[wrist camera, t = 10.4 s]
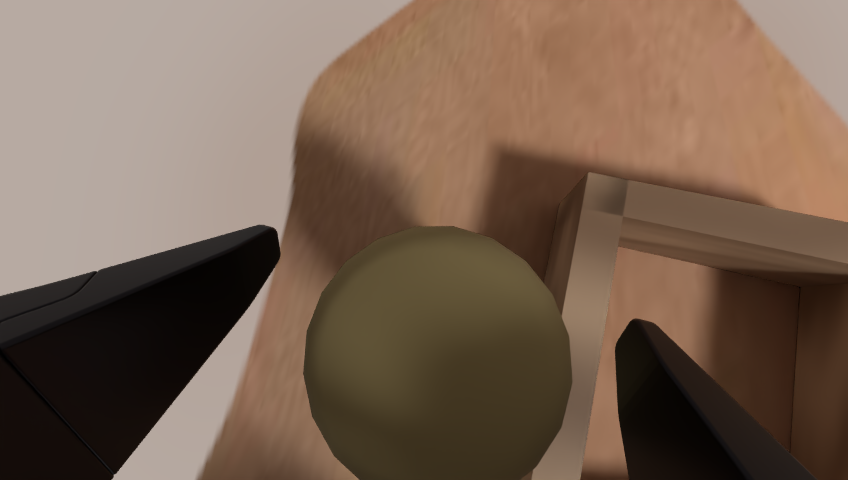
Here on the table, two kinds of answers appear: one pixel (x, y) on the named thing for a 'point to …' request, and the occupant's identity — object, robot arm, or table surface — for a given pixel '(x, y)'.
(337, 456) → the olive knobbed peg
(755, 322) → the table surface
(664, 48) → the table surface
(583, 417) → the brown wooden rectangular frame
